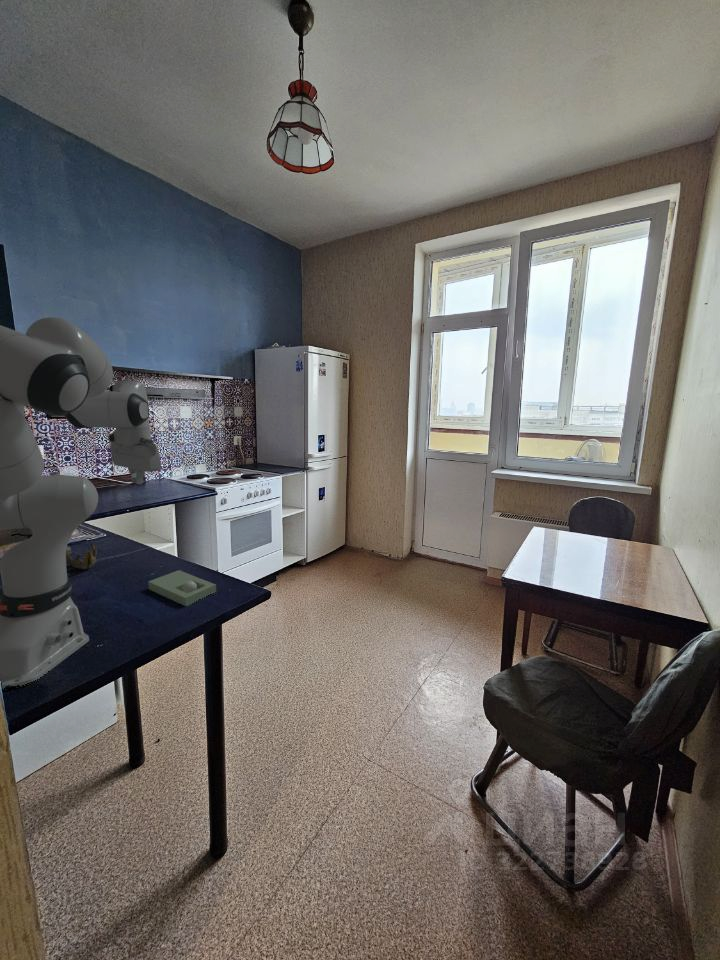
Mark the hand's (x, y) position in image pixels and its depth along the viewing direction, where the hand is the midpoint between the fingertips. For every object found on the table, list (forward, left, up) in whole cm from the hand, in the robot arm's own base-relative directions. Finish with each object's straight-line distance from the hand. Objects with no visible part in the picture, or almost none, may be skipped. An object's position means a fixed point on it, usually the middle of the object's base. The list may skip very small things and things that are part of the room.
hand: (137, 483), depth 116 cm
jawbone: (+11, +24, -31) cm, 41 cm away
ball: (-10, -17, -29) cm, 35 cm away
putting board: (-8, -14, -31) cm, 35 cm away
